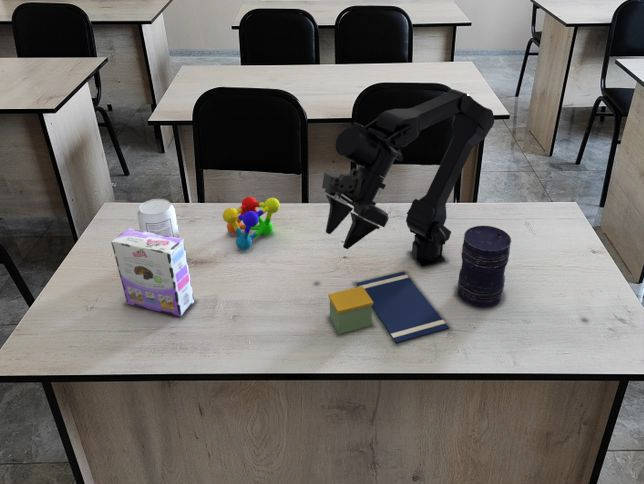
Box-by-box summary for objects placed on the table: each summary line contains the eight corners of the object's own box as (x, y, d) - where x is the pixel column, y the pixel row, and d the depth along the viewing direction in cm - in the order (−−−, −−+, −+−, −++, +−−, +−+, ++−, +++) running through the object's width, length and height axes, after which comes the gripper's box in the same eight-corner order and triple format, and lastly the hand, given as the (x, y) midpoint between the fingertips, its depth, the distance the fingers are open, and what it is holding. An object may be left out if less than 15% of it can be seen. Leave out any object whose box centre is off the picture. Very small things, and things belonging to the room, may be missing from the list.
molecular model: (221, 231, 156) (247, 180, 155) (261, 253, 156) (288, 202, 155) (204, 236, 141) (234, 179, 140) (249, 260, 141) (279, 204, 140)
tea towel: (404, 272, 141) (404, 271, 141) (448, 328, 124) (449, 327, 124) (356, 284, 137) (356, 282, 137) (396, 343, 120) (396, 342, 120)
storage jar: (471, 312, 128) (479, 255, 121) (448, 286, 136) (454, 230, 128) (511, 302, 132) (521, 245, 124) (486, 276, 139) (494, 221, 132)
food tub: (362, 309, 129) (362, 285, 126) (372, 326, 125) (373, 302, 122) (328, 317, 127) (328, 294, 124) (338, 335, 122) (338, 311, 119)
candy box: (195, 301, 131) (185, 238, 123) (180, 318, 127) (168, 253, 118) (142, 288, 135) (128, 226, 127) (125, 304, 130) (109, 240, 122)
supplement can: (140, 266, 143) (128, 211, 135) (162, 248, 149) (152, 194, 141) (168, 273, 140) (158, 218, 132) (190, 255, 146) (180, 201, 139)
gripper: (322, 145, 125) (288, 212, 126) (359, 165, 109) (320, 242, 110) (364, 167, 130) (331, 231, 132) (406, 189, 114) (367, 262, 116)
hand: (336, 240), depth 122 cm, fingers open, 9 cm apart
